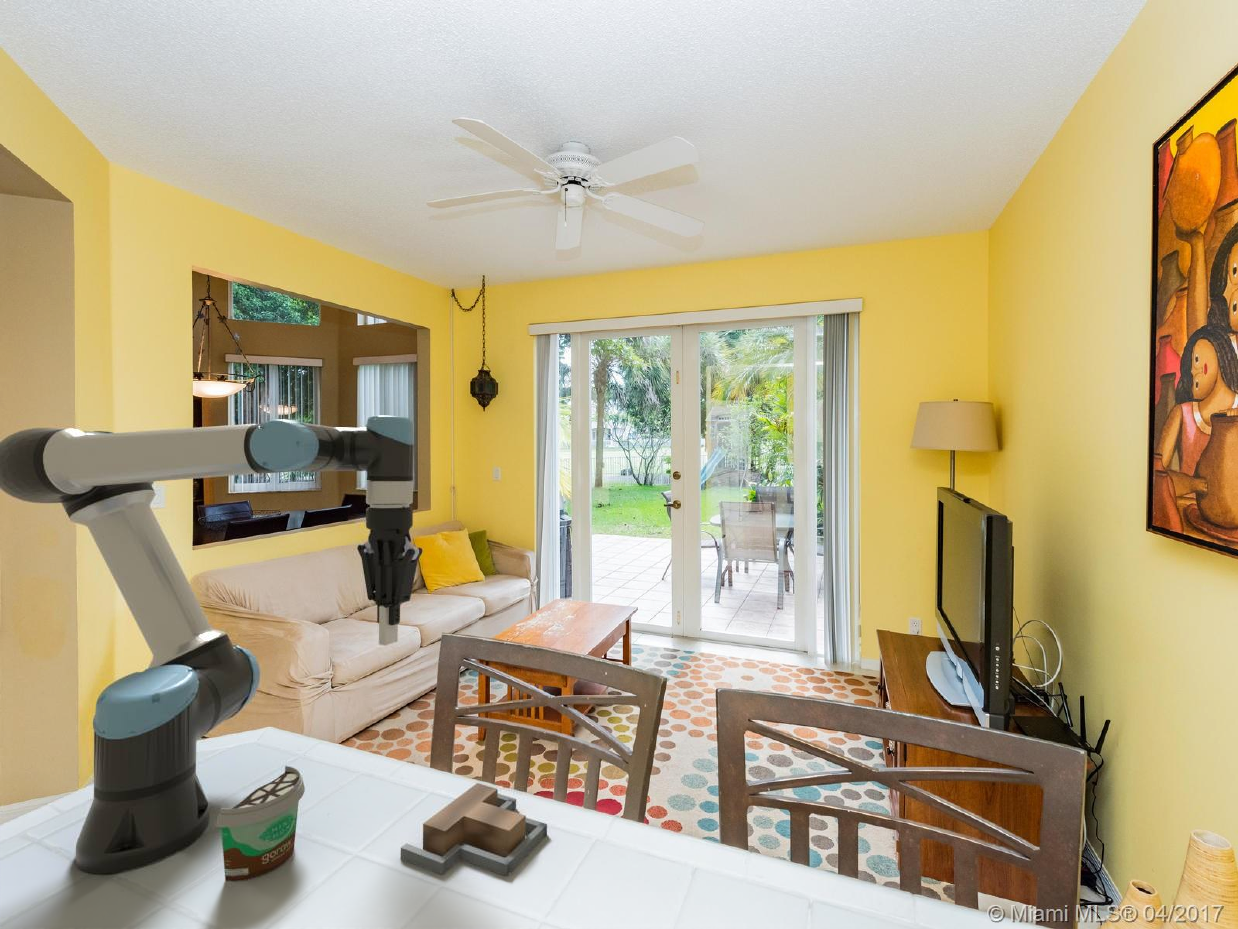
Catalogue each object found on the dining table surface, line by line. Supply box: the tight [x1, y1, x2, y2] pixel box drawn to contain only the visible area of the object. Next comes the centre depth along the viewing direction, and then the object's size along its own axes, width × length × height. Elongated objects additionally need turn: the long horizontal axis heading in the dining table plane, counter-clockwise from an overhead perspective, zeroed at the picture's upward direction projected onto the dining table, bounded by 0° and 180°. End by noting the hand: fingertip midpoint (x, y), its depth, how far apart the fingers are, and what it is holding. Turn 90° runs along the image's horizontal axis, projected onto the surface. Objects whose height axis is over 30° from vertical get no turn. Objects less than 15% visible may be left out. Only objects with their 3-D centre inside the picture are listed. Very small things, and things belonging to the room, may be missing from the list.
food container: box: [216, 765, 306, 882], centre depth 81 cm, size 12×6×10 cm, turn 168°
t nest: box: [400, 793, 548, 877], centre depth 86 cm, size 16×17×2 cm
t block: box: [422, 782, 527, 858], centre depth 86 cm, size 12×12×4 cm
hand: (388, 642), depth 101 cm, fingers closed
